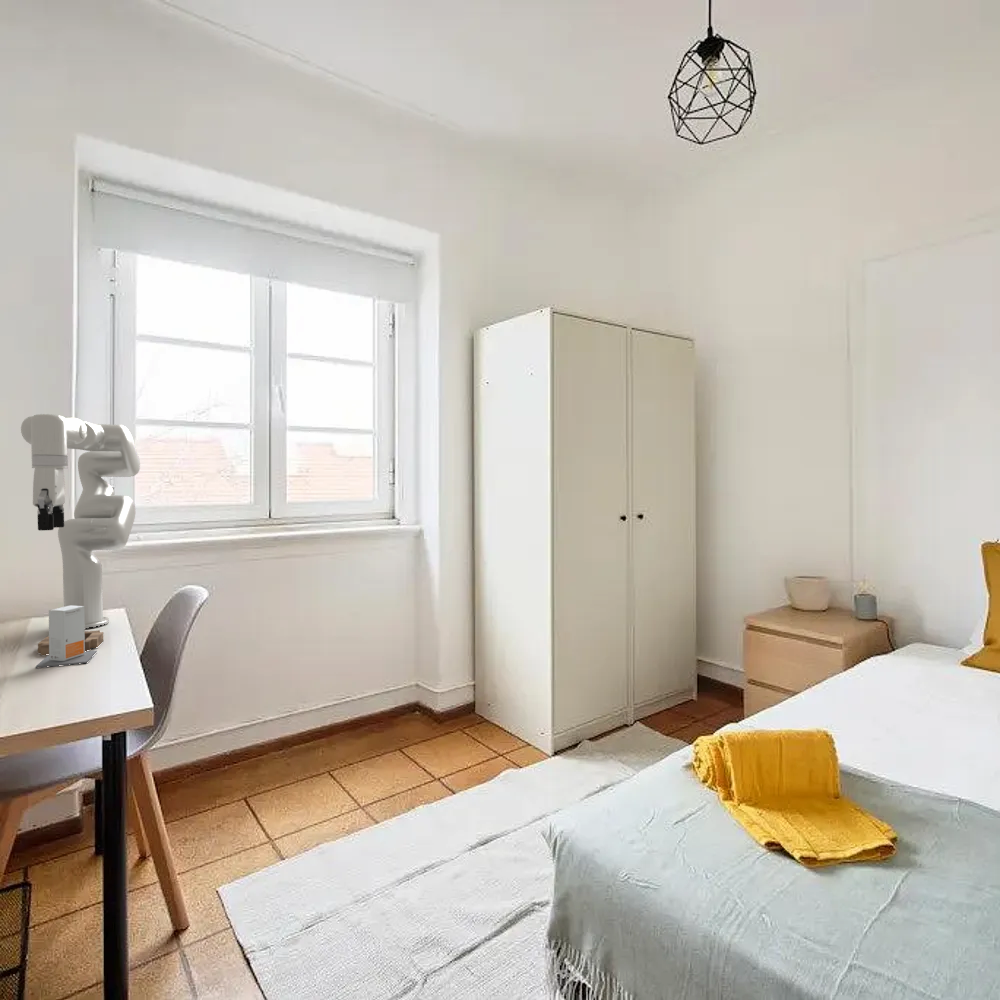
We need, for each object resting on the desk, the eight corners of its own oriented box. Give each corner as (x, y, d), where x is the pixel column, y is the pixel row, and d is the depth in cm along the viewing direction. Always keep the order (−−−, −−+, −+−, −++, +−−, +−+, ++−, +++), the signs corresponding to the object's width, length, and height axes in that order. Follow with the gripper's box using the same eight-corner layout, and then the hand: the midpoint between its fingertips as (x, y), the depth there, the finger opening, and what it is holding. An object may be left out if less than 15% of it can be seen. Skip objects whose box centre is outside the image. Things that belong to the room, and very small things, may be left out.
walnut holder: (49, 643, 162) (49, 634, 162) (105, 639, 167) (105, 629, 167) (34, 656, 151) (34, 646, 150) (94, 651, 155) (94, 641, 155)
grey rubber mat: (48, 656, 150) (48, 654, 150) (96, 652, 154) (96, 650, 154) (35, 668, 141) (35, 666, 141) (87, 663, 145) (87, 661, 145)
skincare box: (63, 661, 144) (62, 610, 144) (48, 660, 145) (47, 610, 145) (86, 654, 150) (85, 605, 150) (71, 653, 151) (70, 604, 151)
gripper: (42, 463, 166) (44, 526, 167) (20, 461, 150) (22, 531, 151) (75, 463, 169) (77, 526, 170) (57, 462, 153) (59, 531, 154)
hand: (51, 528), depth 160 cm, fingers open, 9 cm apart
